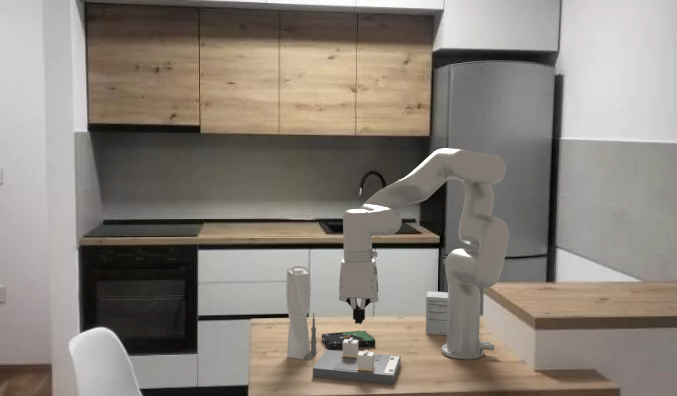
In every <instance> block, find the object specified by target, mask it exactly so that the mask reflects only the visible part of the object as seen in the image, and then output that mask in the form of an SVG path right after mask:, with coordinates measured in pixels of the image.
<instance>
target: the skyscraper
mask: <svg viewBox="0 0 677 396" xmlns="http://www.w3.org/2000/svg"><path fill="white" fill-rule="evenodd" d="M285 286H286V287H285V290H286V292H285V295H286V307H287V308H286V309H287V314H288V319H289V321H288V323H289V324H288V335H287V348H286V349H287V350H286V358H287V359H293V360H294V359H295V360H302V361H310V360H312V358H314V357H315V355H316V354H318V353H319V352H318V351H317V342H318V341H317V332H316V331H317V327H316V318H315V312H313V313H312V319H311V320H312V326H311V328H310V329H311V330H310V331H311V338H310V333H309V325H308V318H307V316H308V312H309V307H310V300H311V272H310V270H309V269H308V268H307V267H305V266H300V265H294V266H292V267H289V268H287V270H286V282H285Z"/></svg>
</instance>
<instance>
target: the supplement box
mask: <svg viewBox="0 0 677 396" xmlns="http://www.w3.org/2000/svg"><path fill="white" fill-rule="evenodd" d="M425 300H426V303H425V304H426V305H425V306H426V307H425V310H426V311H425V334H426V333H427V335H439V336H447V316H448V291H447V292H444V291H429V290H428V291H427V293H426V299H425Z"/></svg>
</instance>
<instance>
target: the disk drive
mask: <svg viewBox="0 0 677 396" xmlns="http://www.w3.org/2000/svg"><path fill="white" fill-rule="evenodd" d="M350 337H351V338H353V340H358V349H364V348H365V349H366V348H374V347H376V339H375V337H373V336H372V335H371V334H370V333H368V332H367V330H354V331H353V330H352V331H343V332H330V333H322V334H321V341H322V343H323V344H324V345H325V347H326V348H327V350H336V351H343V341H344V339H350Z"/></svg>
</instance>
